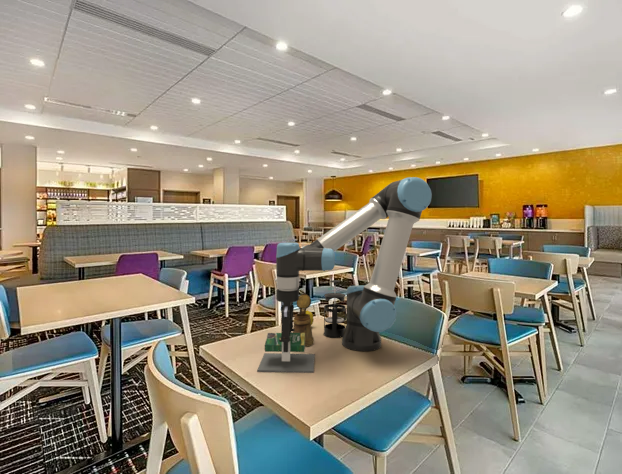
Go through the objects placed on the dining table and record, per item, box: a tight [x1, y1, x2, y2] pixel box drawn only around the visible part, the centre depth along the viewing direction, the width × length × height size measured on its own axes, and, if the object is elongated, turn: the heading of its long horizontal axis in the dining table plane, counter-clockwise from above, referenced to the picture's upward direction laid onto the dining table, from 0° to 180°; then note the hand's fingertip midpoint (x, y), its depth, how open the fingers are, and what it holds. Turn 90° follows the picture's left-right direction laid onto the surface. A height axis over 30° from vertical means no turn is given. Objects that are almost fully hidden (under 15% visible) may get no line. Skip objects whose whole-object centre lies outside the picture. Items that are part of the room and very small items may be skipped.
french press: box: [323, 279, 347, 339], centre depth 147 cm, size 12×9×23 cm
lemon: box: [306, 309, 314, 326], centre depth 155 cm, size 6×6×8 cm
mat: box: [256, 352, 316, 374], centre depth 117 cm, size 18×14×1 cm
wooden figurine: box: [292, 292, 315, 348], centre depth 138 cm, size 9×14×18 cm, turn 176°
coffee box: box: [264, 332, 306, 353], centre depth 116 cm, size 8×3×13 cm
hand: (287, 355), depth 117 cm, fingers closed on coffee box, 8 cm apart
